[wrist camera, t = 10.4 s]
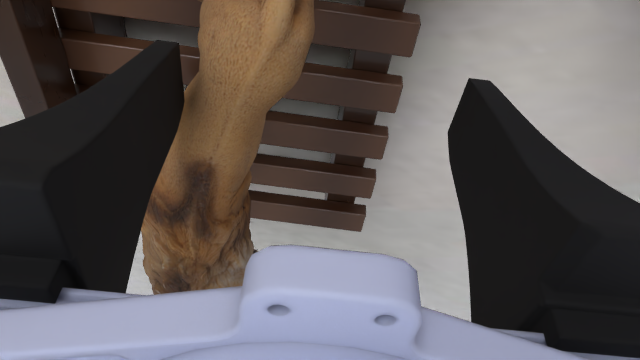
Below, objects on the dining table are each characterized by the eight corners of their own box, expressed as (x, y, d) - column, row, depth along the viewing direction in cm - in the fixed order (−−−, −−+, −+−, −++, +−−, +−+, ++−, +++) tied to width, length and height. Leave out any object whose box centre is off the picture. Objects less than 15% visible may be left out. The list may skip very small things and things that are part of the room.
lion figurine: (266, 196, 25) (272, 360, 19) (156, 184, 24) (120, 356, 17) (340, -136, 16) (404, -53, 10) (170, -181, 15) (106, -121, 8)
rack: (459, -190, 18) (488, -138, 14) (361, 185, 33) (359, 270, 28) (7, -261, 17) (-117, -232, 13) (112, 152, 32) (70, 233, 27)
